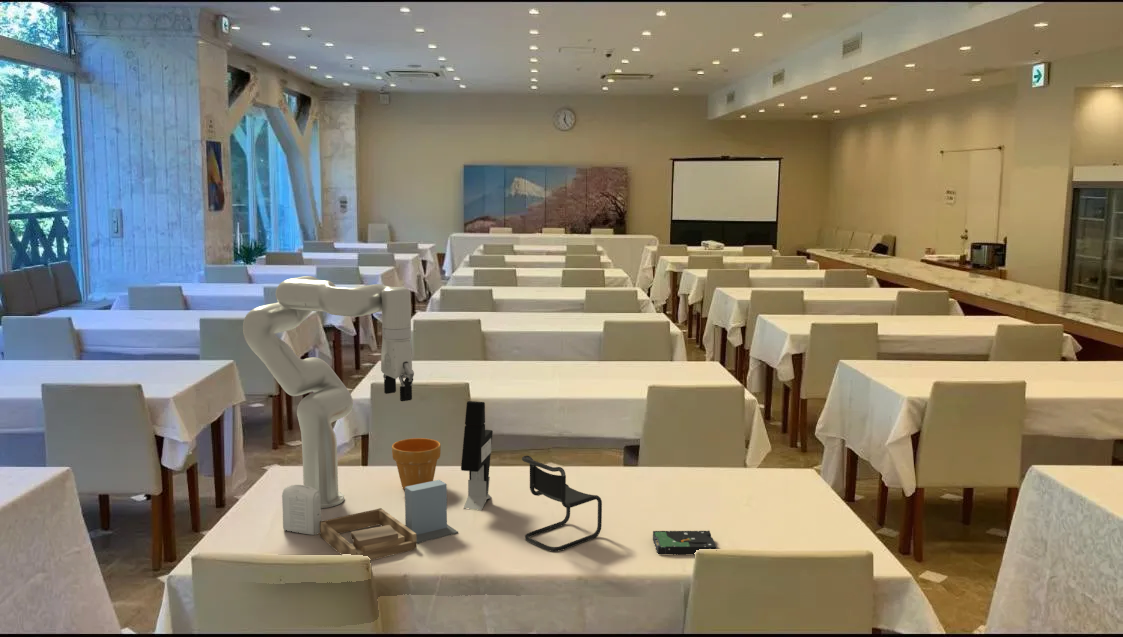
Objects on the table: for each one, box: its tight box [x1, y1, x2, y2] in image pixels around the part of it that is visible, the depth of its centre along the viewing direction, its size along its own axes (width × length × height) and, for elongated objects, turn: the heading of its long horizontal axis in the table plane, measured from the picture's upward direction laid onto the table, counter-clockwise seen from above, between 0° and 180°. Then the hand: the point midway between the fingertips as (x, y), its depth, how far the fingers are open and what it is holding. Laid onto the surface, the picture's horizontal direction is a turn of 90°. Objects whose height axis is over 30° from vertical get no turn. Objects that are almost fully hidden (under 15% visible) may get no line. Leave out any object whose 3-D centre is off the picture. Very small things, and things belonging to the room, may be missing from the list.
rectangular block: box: [404, 479, 448, 535], centre depth 243 cm, size 4×10×12 cm, turn 125°
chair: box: [521, 455, 603, 552], centre depth 239 cm, size 13×17×22 cm
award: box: [460, 400, 494, 511], centre depth 262 cm, size 15×5×30 cm, turn 168°
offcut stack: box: [350, 525, 405, 554], centre depth 232 cm, size 8×12×4 cm, turn 125°
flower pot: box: [391, 437, 441, 490], centre depth 276 cm, size 14×14×13 cm
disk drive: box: [652, 530, 718, 556], centre depth 235 cm, size 10×3×15 cm
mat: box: [404, 524, 459, 544], centre depth 244 cm, size 12×12×1 cm
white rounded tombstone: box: [281, 484, 322, 536], centre depth 242 cm, size 10×4×12 cm, turn 73°
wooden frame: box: [319, 507, 418, 561], centre depth 236 cm, size 21×17×4 cm
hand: (398, 396), depth 249 cm, fingers open, 9 cm apart
